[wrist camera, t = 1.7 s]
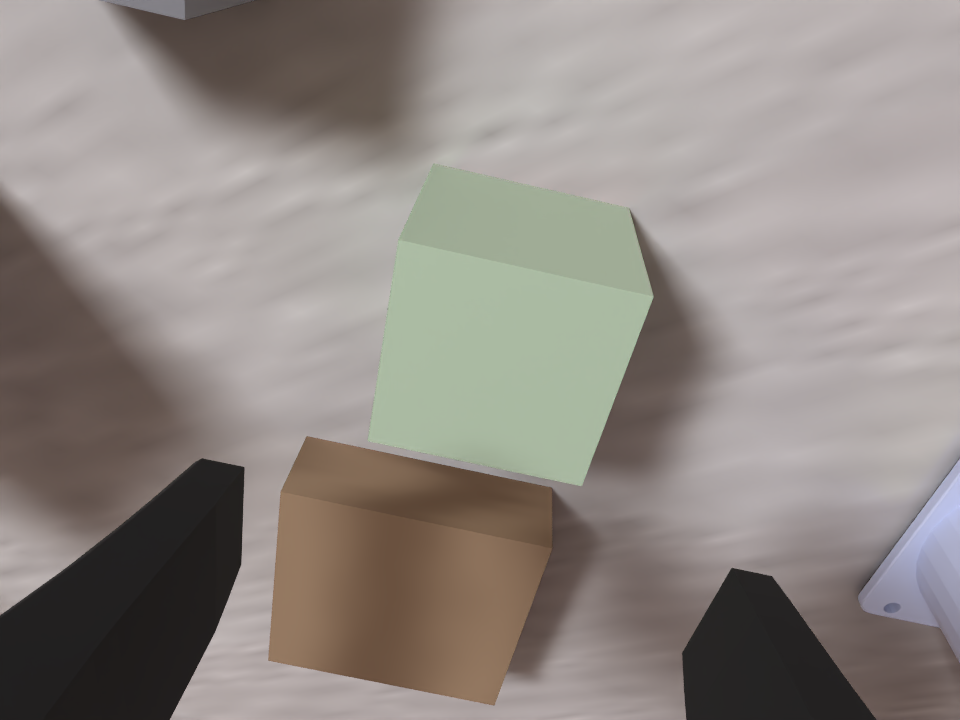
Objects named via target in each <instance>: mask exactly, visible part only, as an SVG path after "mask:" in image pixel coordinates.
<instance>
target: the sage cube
mask: <svg viewBox="0 0 960 720" xmlns="http://www.w3.org/2000/svg"><path fill="white" fill-rule="evenodd" d="M653 297H654V296H653V293H652V289H651V285H650V282H649V278H648V275H647V271H646V268H645V264H644V260H643V257H642V253H641V250H640V246H639V243H638V239H637V235H636V232H635V228H634V225H633V221H632V217H631V214H630V210H629V208H627V207H622V206H618V205H613V204H609V203H605V202H600V201H596V200H591V199H587V198H583V197H578V196H574V195H569V194H565V193H561V192H556V191H552V190H548V189H543V188H539V187H534V186H530V185H526V184H521V183H517V182H512V181H508V180H504V179H499V178H495V177H490V176H486V175H482V174H477V173H473V172H468V171H464V170H460V169H455V168H451V167H447V166H442V165H438V164H433V166H432V168H431V170H430V172H429V174H428V177H427V179H426V181H425V183H424V185H423V187H422V190H421V192H420V194H419V196H418V198H417V200H416V203H415V205H414V207H413V209H412V211H411V213H410V216H409V218H408V220H407V222H406V224H405V226H404V229H403V231H402V233H401V235H400V237H399V239H398V246H397V252H396V259H395V265H394V272H393V278H392V285H391V291H390V298H389V304H388V311H387V317H386V324H385V330H384V337H383V344H382V350H381V357H380V363H379V370H378V376H377V383H376V389H375V396H374V402H373V409H372V415H371V422H370V428H369V435H368V441H369V442H374V443H379V444H384V445H388V446H393V447H398V448H402V449H407V450H412V451H417V452H421V453H426V454H431V455H436V456H440V457H445V458H450V459H455V460H459V461H464V462H469V463H473V464H478V465H483V466H488V467H492V468H497V469H502V470H507V471H511V472H516V473H521V474H526V475H530V476H535V477H540V478H544V479H549V480H554V481H559V482H563V483H568V484H573V485H578V486H582V484H583V482H584V479H585V476H586V474H587V471H588V469H589V466H590V463H591V461H592V458H593V455H594V453H595V450H596V447H597V445H598V442H599V440H600V437H601V434H602V432H603V429H604V426H605V424H606V421H607V418H608V416H609V413H610V411H611V408H612V405H613V403H614V400H615V397H616V395H617V392H618V389H619V387H620V384H621V381H622V379H623V376H624V374H625V371H626V368H627V366H628V363H629V360H630V358H631V355H632V352H633V350H634V347H635V345H636V342H637V339H638V337H639V334H640V331H641V329H642V326H643V323H644V321H645V318H646V316H647V313H648V310H649V308H650V305H651V302H652V300H653Z"/></svg>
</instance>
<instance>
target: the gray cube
mask: <svg viewBox="0 0 960 720" xmlns="http://www.w3.org/2000/svg"><path fill="white" fill-rule="evenodd" d="M101 1H105V2H109V3H114V4H118V5H122V6H127V7H131V8H135V9H140V10H144V11H148V12H152V13H157V14H161V15H165V16H170V17H174V18H178V19H183V20H187V19H191V18H194V17H198V16H201V15H205V14H208V13H212V12H215V11H219V10H223V9H226V8H230V7H233V6H237V5H240V4H244V3H247V2H251V1H254V0H101Z"/></svg>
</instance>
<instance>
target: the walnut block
mask: <svg viewBox="0 0 960 720" xmlns="http://www.w3.org/2000/svg"><path fill="white" fill-rule="evenodd" d="M551 551H552V488H550V487H546V486H541V485H536V484H531V483H527V482H522V481H517V480H512V479H508V478H503V477H498V476H493V475H489V474H484V473H479V472H474V471H470V470H465V469H460V468H455V467H451V466H446V465H441V464H436V463H432V462H427V461H422V460H417V459H413V458H408V457H403V456H398V455H394V454H389V453H384V452H379V451H375V450H370V449H365V448H360V447H356V446H351V445H346V444H341V443H337V442H332V441H327V440H322V439H318V438H313V437H308V436H307V437H306V439H305V441H304V443H303V445H302V447H301V450H300V452H299V454H298V456H297V458H296V460H295V462H294V465H293V467H292V469H291V471H290V473H289V475H288V477H287V479H286V482H285V484H284V486H283V488H282V490H281V495H280V509H279V523H278V536H277V550H276V563H275V577H274V590H273V604H272V617H271V631H270V645H269V658H268V661H273V662H278V663H283V664H288V665H293V666H298V667H303V668H308V669H313V670H319V671H324V672H329V673H334V674H339V675H344V676H349V677H354V678H359V679H364V680H369V681H374V682H379V683H384V684H389V685H394V686H399V687H404V688H409V689H414V690H419V691H424V692H429V693H434V694H439V695H444V696H449V697H454V698H459V699H464V700H469V701H474V702H479V703H484V704H489V705H495V702H496V699H497V697H498V694H499V691H500V689H501V686H502V683H503V681H504V678H505V675H506V672H507V670H508V667H509V664H510V662H511V659H512V656H513V654H514V651H515V648H516V645H517V643H518V640H519V637H520V635H521V632H522V629H523V627H524V624H525V621H526V618H527V616H528V613H529V610H530V608H531V605H532V602H533V600H534V597H535V594H536V591H537V589H538V586H539V583H540V581H541V578H542V575H543V573H544V570H545V567H546V564H547V562H548V559H549V556H550V554H551Z"/></svg>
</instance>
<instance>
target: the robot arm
mask: <svg viewBox="0 0 960 720" xmlns="http://www.w3.org/2000/svg"><path fill="white" fill-rule="evenodd" d="M243 494H244V467H241V466H236V465H231V464H226V463H222V462H217V461H212V460H207V459H200V460H199V461H197V462H195V463H194V464H192V465H191V466H190V467H189V468H188V469H187V470H185V471H184V472H183V473H182V474H181V475H180V476H179V477H177V478H176V479H175V480H174V481H173V482H172V483H171V484H169V485H168V486H167V487H166V488H165V489H164V490H162V491H161V492H160V493H159V494H158V495H157V496H155V497H154V498H153V499H152V500H151V501H149V502H148V503H147V504H146V505H145V506H143V507H142V508H141V509H140V510H139V511H137V512H136V513H135V514H134V515H133V516H131V517H130V518H129V519H128V520H127V521H125V522H124V523H123V524H122V525H120V526H119V527H118V528H117V529H115V530H114V531H113V532H112V533H110V534H109V535H108V536H106V537H105V538H104V539H103V540H101V541H100V542H99V543H98V544H96V545H95V546H94V547H92V548H91V549H90V550H89V551H87V552H86V553H85V554H84V555H82V556H81V557H80V558H78V559H77V560H76V561H75V562H73V563H72V564H71V565H69V566H68V567H67V568H65V569H64V570H63V571H61V572H60V573H59V574H57V575H56V576H55V577H53V578H52V579H50V580H49V581H48V582H46V583H45V584H43V585H42V586H41V587H39V588H38V589H36V590H35V591H34V592H32V593H31V594H29V595H28V596H27V597H25V598H24V599H23V600H21V601H20V602H18V603H17V604H16V605H14V606H13V607H11V608H10V609H9V610H7V611H6V612H4V613H3V614H2V615H0V720H170V718H171V716H172V714H173V712H174V710H175V708H176V706H177V705H178V703H179V701H180V699H181V697H182V695H183V693H184V691H185V689H186V687H187V685H188V683H189V682H190V680H191V678H192V676H193V674H194V672H195V670H196V668H197V666H198V664H199V662H200V660H201V658H202V656H203V654H204V652H205V651H206V649H207V647H208V645H209V643H210V641H211V639H212V637H213V635H214V633H215V631H216V628H217V626H218V623H219V621H220V618H221V616H222V613H223V611H224V608H225V606H226V603H227V601H228V598H229V595H230V593H231V590H232V587H233V585H234V582H235V579H236V577H237V574H238V571H239V569H240V566H241V555H242V525H243ZM858 601H859V603H860V606H861V608H862V609H863V610H864V611H865V612H868V613H871V614H875V615H880V616H885V617H890V618H895V619H900V620H904V621H909V622H914V623H919V624H924V625H929V626H933V627H938V628H941V630H942V632H943V634H944V636H945V637H946V639H947V641H948V643H949V645H950V647H951V648H952V650H953V652H954V654H955V656H956V657H957V659H958V661H959V663H960V459H959V461H958V462H957V463H956V465H955V466H954V467H953V469H952V470H951V471H950V473H949V474H948V475H947V477H946V478H945V479H944V481H943V482H942V483H941V485H940V486H939V487H938V489H937V490H936V491H935V493H934V494H933V495H932V497H931V498H930V500H929V501H928V502H927V504H926V505H925V506H924V508H923V509H922V510H921V512H920V513H919V514H918V516H917V517H916V518H915V520H914V521H913V522H912V524H911V525H910V526H909V528H908V529H907V530H906V532H905V533H904V534H903V536H902V537H901V538H900V540H899V541H898V542H897V544H896V545H895V546H894V548H893V549H892V550H891V552H890V553H889V555H888V556H887V557H886V559H885V560H884V561H883V563H882V564H881V565H880V567H879V568H878V569H877V571H876V572H875V573H874V575H873V576H872V577H871V579H870V580H869V581H868V583H867V584H866V585H865V587H864V588H863V589H862V591H861V592H860V593H859V596H858ZM682 656H683V676H684V694H685V707H686V719H687V720H876V719H875V717H874V716H873V715H872V713H871V712H870V711H869V709H868V708H867V707H866V705H865V704H864V703H863V701H862V700H861V699H860V697H859V696H858V694H857V693H856V692H855V690H854V689H853V688H852V686H851V685H850V684H849V682H848V681H847V679H846V678H845V677H844V675H843V674H842V673H841V671H840V670H839V668H838V667H837V666H836V664H835V663H834V661H833V660H832V659H831V657H830V656H829V654H828V653H827V652H826V650H825V649H824V648H823V646H822V645H821V643H820V642H819V641H818V639H817V638H816V636H815V635H814V634H813V632H812V631H811V629H810V628H809V627H808V625H807V624H806V622H805V621H804V620H803V618H802V617H801V615H800V614H799V612H798V611H797V610H796V608H795V607H794V606H793V604H792V603H791V601H790V600H789V599H788V597H787V596H786V595H785V593H784V592H783V590H782V589H781V588H780V586H779V585H778V584H777V582H776V581H775V580H774V578H773V577H772V576H768V575H763V574H758V573H754V572H749V571H744V570H739V569H734V568H731V570H730V572H729V574H728V575H727V577H726V579H725V580H724V582H723V584H722V586H721V587H720V589H719V591H718V592H717V594H716V596H715V598H714V599H713V601H712V603H711V604H710V606H709V608H708V610H707V611H706V613H705V615H704V617H703V618H702V620H701V622H700V623H699V625H698V627H697V629H696V630H695V632H694V634H693V635H692V637H691V639H690V641H689V642H688V644H687V646H686V647H685V649H684V651H683V653H682Z"/></svg>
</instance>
